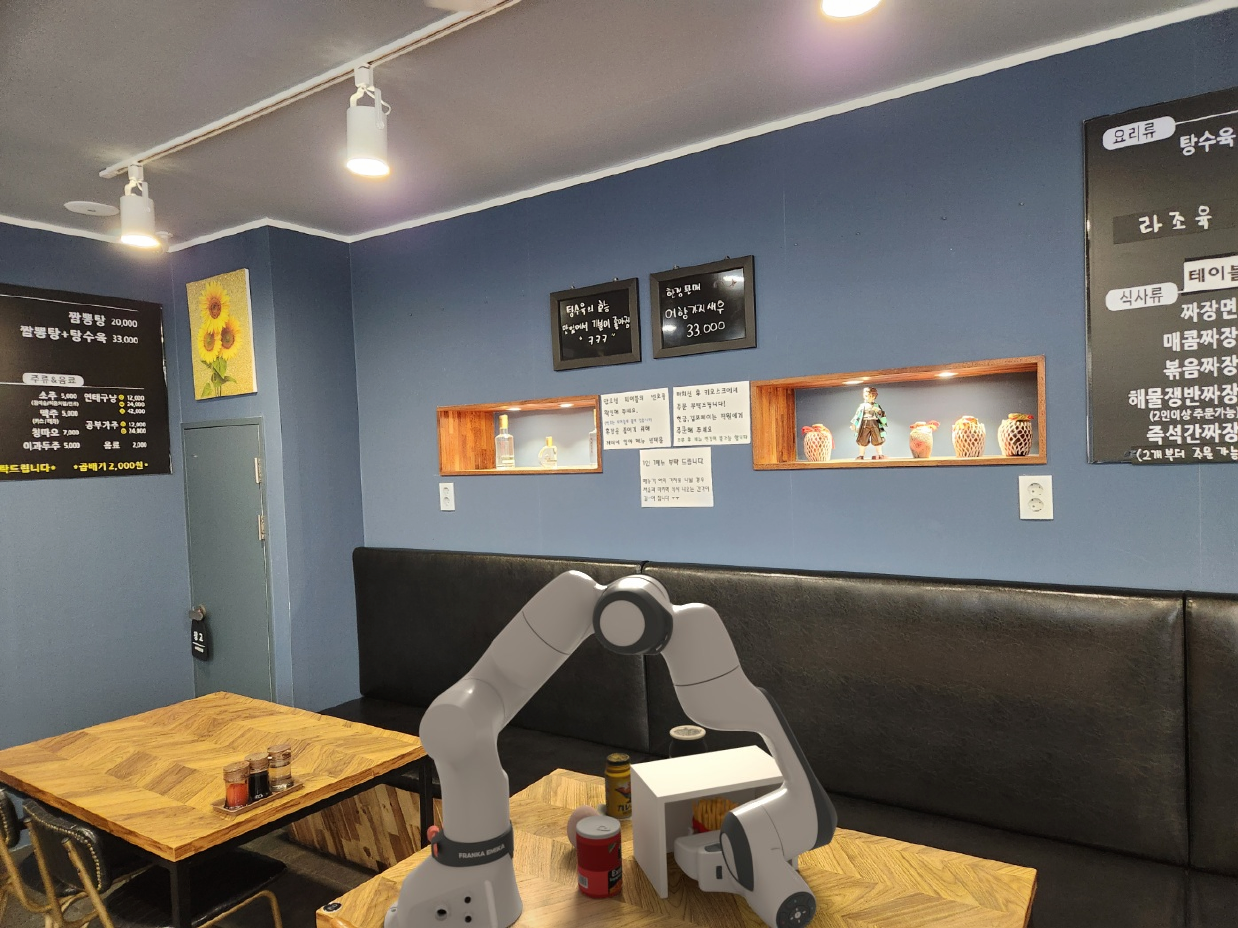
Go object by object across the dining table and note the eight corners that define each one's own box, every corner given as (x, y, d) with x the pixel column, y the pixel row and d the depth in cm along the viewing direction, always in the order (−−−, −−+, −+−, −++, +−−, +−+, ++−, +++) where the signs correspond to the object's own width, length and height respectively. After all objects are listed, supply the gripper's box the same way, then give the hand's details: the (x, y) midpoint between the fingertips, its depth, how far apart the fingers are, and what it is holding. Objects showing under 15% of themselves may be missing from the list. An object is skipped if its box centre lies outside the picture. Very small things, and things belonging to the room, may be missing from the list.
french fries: (693, 870, 137) (690, 804, 137) (695, 859, 140) (693, 794, 141) (740, 874, 135) (737, 806, 135) (741, 862, 139) (739, 797, 139)
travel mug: (711, 826, 153) (707, 737, 154) (671, 826, 154) (668, 738, 154) (708, 808, 161) (705, 724, 162) (671, 808, 162) (668, 725, 162)
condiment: (635, 820, 157) (633, 762, 157) (595, 820, 158) (592, 763, 158) (636, 804, 165) (634, 749, 165) (597, 805, 165) (595, 750, 165)
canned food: (618, 901, 128) (615, 836, 128) (572, 898, 129) (570, 833, 129) (626, 877, 135) (624, 816, 135) (583, 874, 137) (581, 813, 137)
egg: (612, 849, 145) (610, 805, 146) (583, 862, 141) (581, 818, 141) (588, 836, 151) (587, 794, 151) (560, 849, 146) (558, 806, 146)
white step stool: (661, 898, 128) (657, 796, 128) (633, 855, 143) (630, 764, 143) (798, 868, 136) (794, 773, 136) (758, 831, 150) (755, 745, 150)
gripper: (802, 832, 128) (764, 799, 142) (691, 854, 122) (662, 817, 136) (804, 869, 128) (765, 833, 142) (693, 893, 122) (663, 853, 136)
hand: (714, 825), depth 139 cm, fingers open, 8 cm apart
